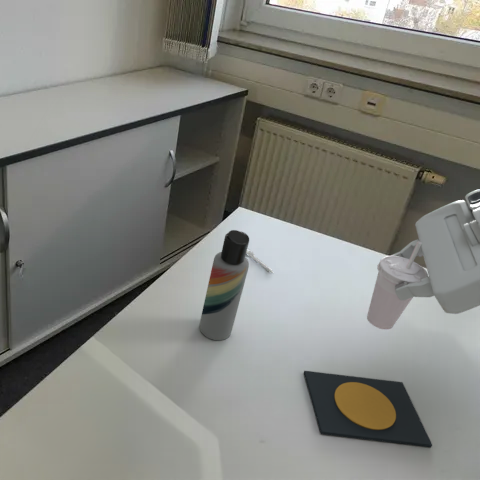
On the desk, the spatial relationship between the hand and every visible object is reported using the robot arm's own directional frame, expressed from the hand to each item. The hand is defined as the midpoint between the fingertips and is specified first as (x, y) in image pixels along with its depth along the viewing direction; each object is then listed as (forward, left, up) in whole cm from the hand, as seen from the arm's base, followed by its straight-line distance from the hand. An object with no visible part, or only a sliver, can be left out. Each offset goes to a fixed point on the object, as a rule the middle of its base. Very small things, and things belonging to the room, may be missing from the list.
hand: (394, 277), depth 76 cm
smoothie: (-1, 0, -8) cm, 8 cm away
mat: (-1, +5, -21) cm, 22 cm away
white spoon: (+13, -33, -21) cm, 41 cm away
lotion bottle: (+21, -9, -21) cm, 31 cm away
